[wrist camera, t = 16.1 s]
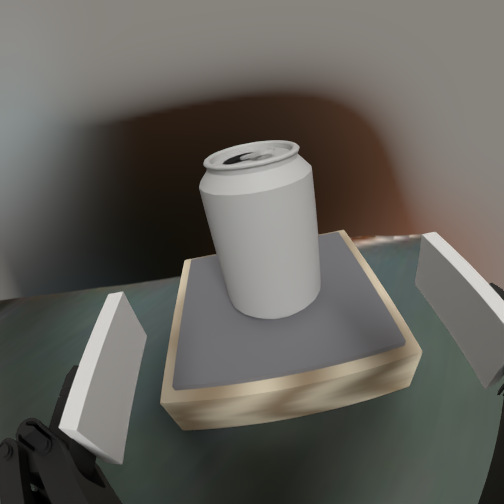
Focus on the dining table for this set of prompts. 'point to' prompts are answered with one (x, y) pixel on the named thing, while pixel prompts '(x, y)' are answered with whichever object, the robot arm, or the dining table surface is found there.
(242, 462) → the dining table surface
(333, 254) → the dock
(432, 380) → the dining table surface
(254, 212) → the can
